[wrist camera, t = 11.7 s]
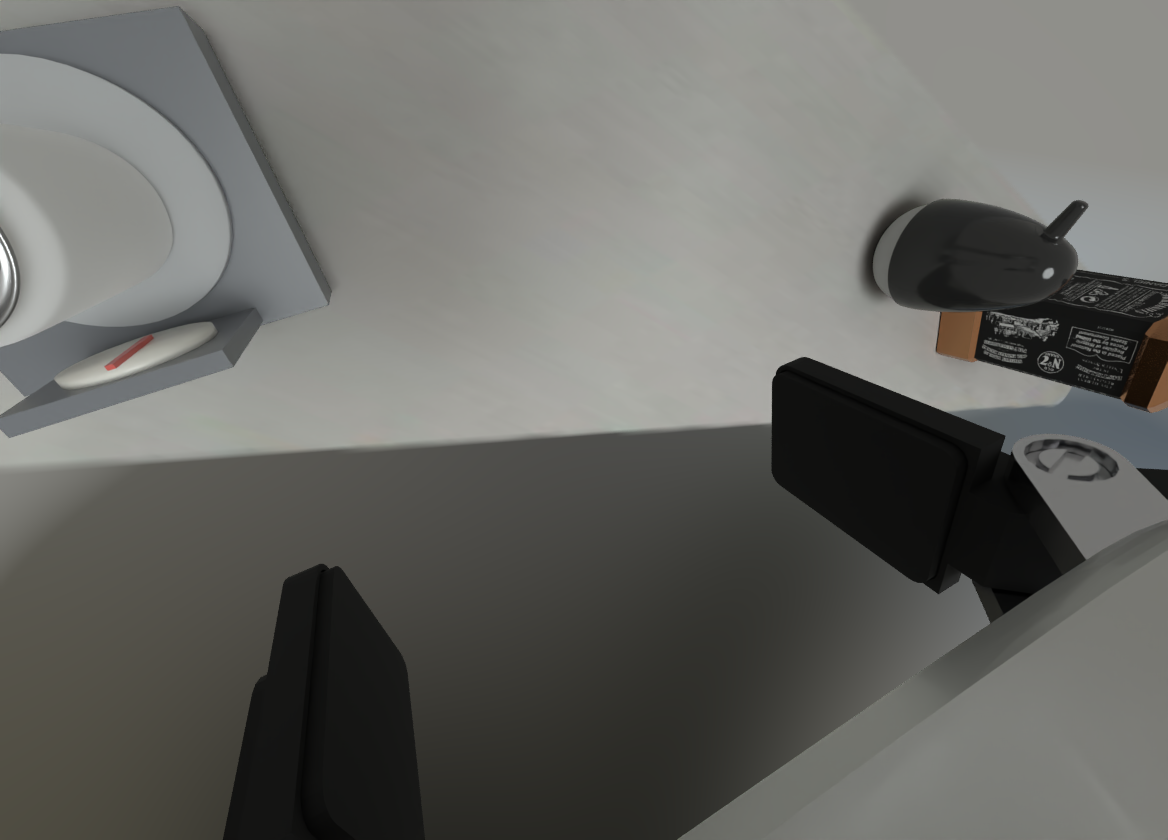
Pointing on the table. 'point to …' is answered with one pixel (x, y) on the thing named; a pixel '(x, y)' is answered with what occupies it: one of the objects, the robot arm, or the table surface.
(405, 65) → the table surface
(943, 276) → the pump dispenser
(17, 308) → the can
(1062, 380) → the whiskey bottle
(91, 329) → the scale
